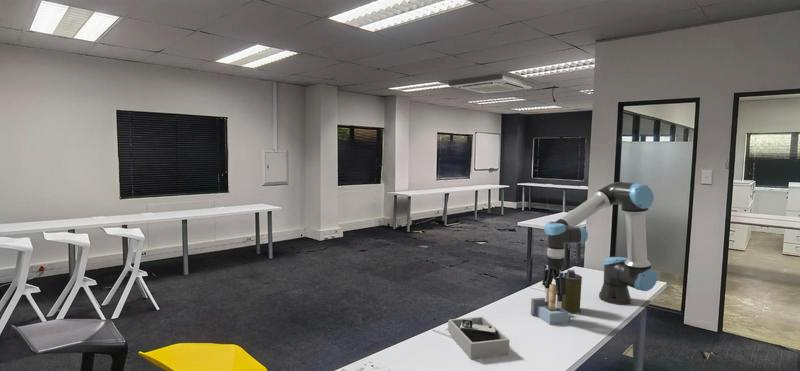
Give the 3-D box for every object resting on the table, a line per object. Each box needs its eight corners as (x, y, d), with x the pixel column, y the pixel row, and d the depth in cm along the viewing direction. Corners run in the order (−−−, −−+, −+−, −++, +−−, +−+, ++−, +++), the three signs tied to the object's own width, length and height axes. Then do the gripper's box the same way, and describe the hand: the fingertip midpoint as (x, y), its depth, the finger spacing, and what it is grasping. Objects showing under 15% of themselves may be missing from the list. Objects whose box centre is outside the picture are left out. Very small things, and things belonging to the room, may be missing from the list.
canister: (582, 314, 201) (584, 274, 199) (559, 312, 203) (562, 272, 201) (577, 306, 212) (579, 268, 210) (556, 304, 214) (558, 266, 212)
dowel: (553, 314, 197) (555, 284, 196) (558, 318, 193) (560, 286, 192) (546, 315, 196) (547, 284, 195) (551, 318, 192) (553, 287, 191)
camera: (497, 342, 169) (498, 318, 168) (495, 350, 162) (496, 325, 161) (460, 336, 174) (461, 313, 173) (457, 343, 167) (458, 319, 166)
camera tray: (482, 329, 181) (482, 316, 181) (508, 354, 159) (509, 339, 159) (447, 333, 177) (448, 319, 177) (470, 359, 155) (471, 343, 154)
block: (554, 314, 201) (555, 304, 200) (568, 322, 191) (568, 312, 191) (536, 316, 198) (537, 305, 198) (549, 324, 188) (549, 313, 188)
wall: (555, 312, 203) (556, 296, 202) (558, 313, 201) (559, 297, 201) (530, 314, 200) (531, 298, 199) (533, 316, 198) (533, 300, 197)
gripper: (535, 252, 201) (533, 297, 203) (562, 262, 181) (559, 313, 183) (549, 251, 203) (547, 296, 205) (576, 262, 183) (574, 312, 185)
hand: (553, 304), depth 194 cm, fingers open, 7 cm apart
